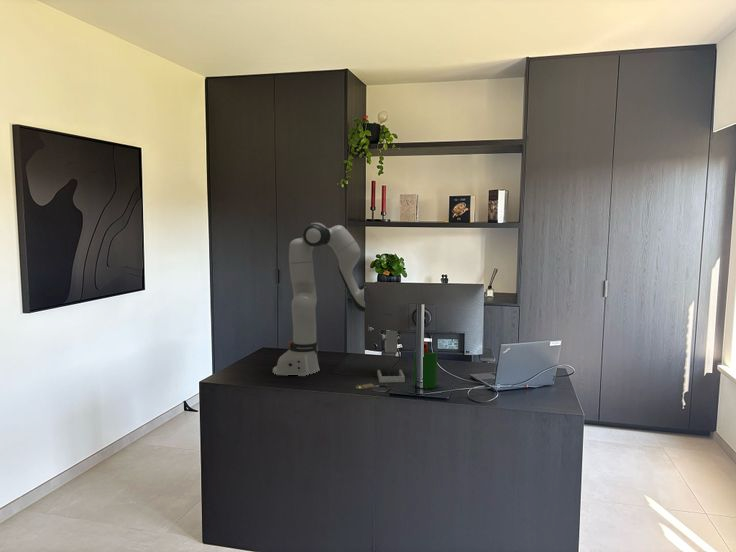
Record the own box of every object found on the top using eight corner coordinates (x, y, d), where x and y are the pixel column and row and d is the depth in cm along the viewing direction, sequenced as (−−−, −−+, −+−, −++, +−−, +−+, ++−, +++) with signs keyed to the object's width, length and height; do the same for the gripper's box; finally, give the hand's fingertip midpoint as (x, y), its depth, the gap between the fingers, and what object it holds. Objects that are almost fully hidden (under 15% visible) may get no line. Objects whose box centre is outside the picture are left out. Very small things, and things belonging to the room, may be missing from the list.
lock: (386, 352, 240) (386, 328, 239) (384, 349, 246) (385, 325, 245) (397, 352, 241) (397, 328, 240) (395, 348, 247) (395, 325, 246)
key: (358, 389, 228) (358, 388, 228) (354, 387, 231) (354, 385, 231) (374, 387, 232) (374, 385, 232) (370, 385, 235) (370, 383, 235)
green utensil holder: (436, 383, 238) (437, 339, 236) (437, 389, 229) (438, 344, 227) (413, 382, 239) (414, 339, 237) (413, 388, 230) (414, 343, 228)
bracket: (379, 382, 238) (379, 377, 238) (377, 375, 250) (377, 369, 249) (404, 382, 239) (404, 376, 239) (401, 374, 250) (401, 369, 250)
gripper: (367, 310, 248) (369, 336, 239) (410, 310, 249) (413, 335, 241) (366, 318, 253) (368, 343, 244) (409, 317, 254) (412, 342, 246)
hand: (391, 339), depth 242 cm, fingers closed on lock, 5 cm apart
